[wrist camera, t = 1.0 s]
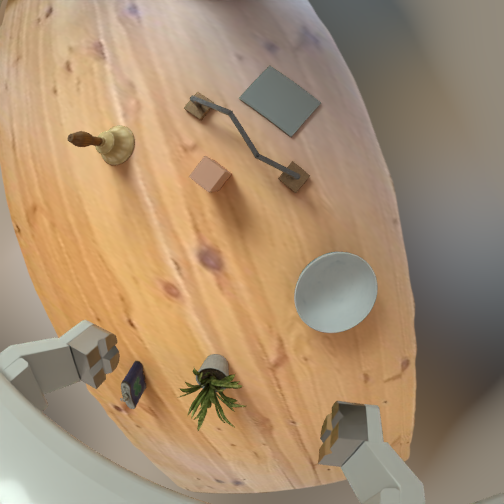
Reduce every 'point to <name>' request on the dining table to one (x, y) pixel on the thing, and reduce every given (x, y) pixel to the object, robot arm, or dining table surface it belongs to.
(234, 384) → the house plant
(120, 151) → the hand bell
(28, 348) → the robot arm
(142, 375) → the flask
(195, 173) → the brick block
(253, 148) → the zigzag wire
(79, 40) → the dining table surface
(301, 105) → the slate tile
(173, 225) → the dining table surface
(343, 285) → the chinaware
